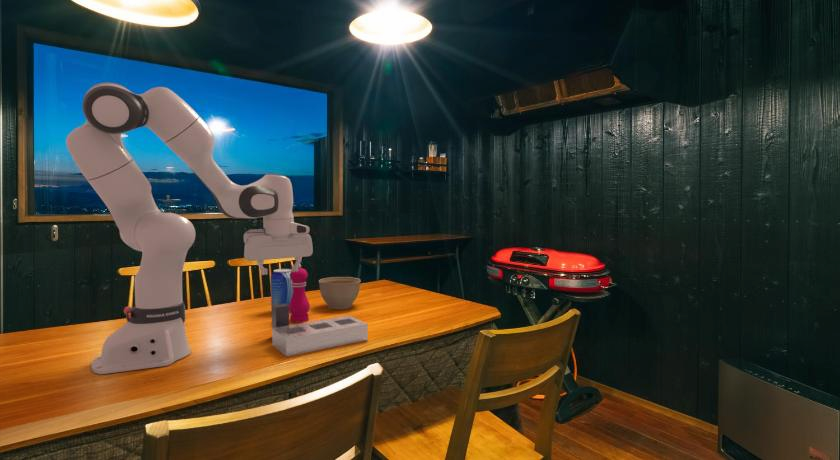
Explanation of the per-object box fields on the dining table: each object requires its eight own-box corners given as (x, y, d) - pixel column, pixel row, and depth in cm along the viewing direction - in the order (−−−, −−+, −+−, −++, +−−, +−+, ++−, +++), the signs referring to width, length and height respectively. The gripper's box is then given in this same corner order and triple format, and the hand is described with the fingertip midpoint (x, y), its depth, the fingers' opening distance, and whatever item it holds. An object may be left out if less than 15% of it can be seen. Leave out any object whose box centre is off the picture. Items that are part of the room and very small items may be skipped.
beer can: (299, 311, 172) (298, 269, 171) (282, 316, 165) (281, 272, 164) (284, 308, 176) (283, 267, 175) (266, 313, 169) (265, 270, 168)
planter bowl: (357, 312, 171) (357, 283, 170) (314, 312, 171) (314, 283, 170) (363, 302, 187) (363, 276, 186) (324, 302, 187) (323, 276, 186)
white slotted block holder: (286, 356, 123) (286, 338, 122) (272, 344, 132) (272, 328, 132) (367, 340, 137) (367, 323, 137) (349, 330, 147) (349, 315, 147)
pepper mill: (304, 323, 156) (303, 265, 154) (285, 322, 157) (283, 264, 156) (313, 317, 163) (312, 262, 161) (294, 316, 164) (293, 262, 163)
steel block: (276, 340, 137) (275, 307, 136) (272, 336, 140) (271, 304, 140) (289, 337, 139) (288, 305, 139) (285, 334, 143) (284, 303, 142)
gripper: (246, 230, 129) (247, 278, 130) (314, 227, 141) (315, 271, 142) (240, 229, 134) (241, 275, 135) (306, 226, 146) (307, 268, 147)
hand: (280, 273), depth 139 cm, fingers open, 8 cm apart
